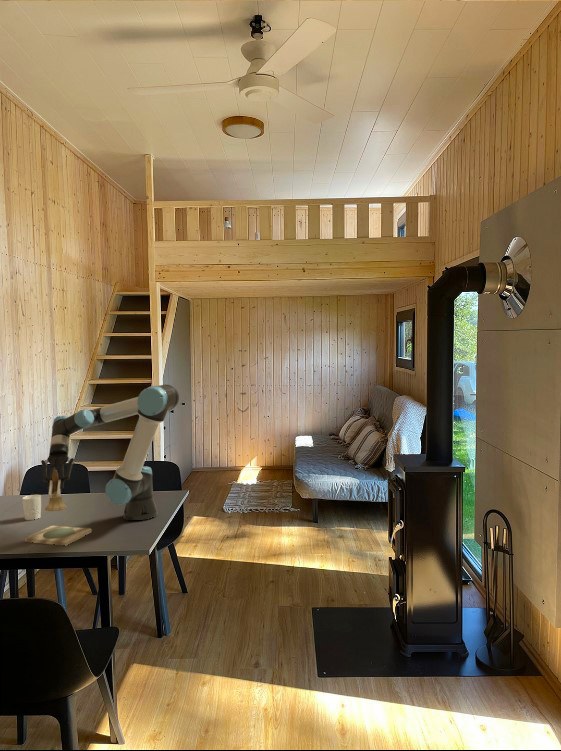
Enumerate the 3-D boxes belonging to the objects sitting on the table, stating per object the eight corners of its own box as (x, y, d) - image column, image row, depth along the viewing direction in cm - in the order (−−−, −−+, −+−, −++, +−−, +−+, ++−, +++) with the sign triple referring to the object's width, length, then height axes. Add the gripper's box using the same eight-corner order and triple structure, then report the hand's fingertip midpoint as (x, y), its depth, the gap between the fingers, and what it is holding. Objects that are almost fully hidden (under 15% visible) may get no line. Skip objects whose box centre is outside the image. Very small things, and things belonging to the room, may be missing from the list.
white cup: (34, 521, 247) (33, 499, 247) (19, 520, 249) (18, 499, 248) (45, 515, 255) (44, 494, 254) (30, 515, 256) (29, 494, 256)
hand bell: (45, 512, 219) (45, 473, 218) (44, 506, 226) (44, 468, 225) (67, 509, 223) (67, 471, 222) (65, 504, 230) (65, 467, 229)
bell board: (91, 532, 230) (91, 528, 229) (66, 545, 214) (66, 541, 214) (52, 528, 235) (52, 525, 235) (24, 541, 220) (24, 537, 220)
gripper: (79, 451, 240) (75, 498, 225) (41, 454, 236) (35, 502, 221) (77, 441, 235) (73, 489, 219) (38, 444, 231) (31, 492, 216)
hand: (54, 495), depth 220 cm, fingers closed on hand bell, 2 cm apart
